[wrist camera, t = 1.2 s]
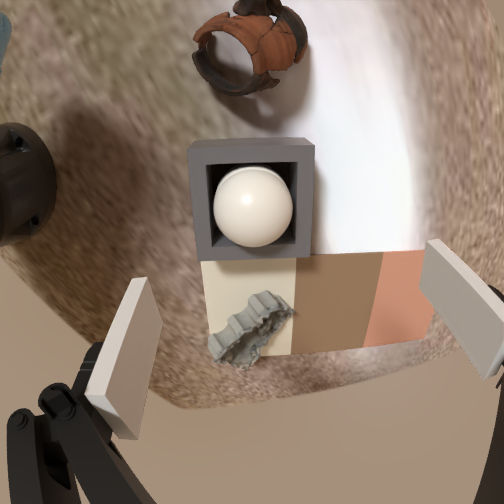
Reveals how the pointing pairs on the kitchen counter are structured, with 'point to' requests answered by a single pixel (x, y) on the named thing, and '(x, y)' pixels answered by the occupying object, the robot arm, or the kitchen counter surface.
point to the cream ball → (252, 205)
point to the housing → (250, 151)
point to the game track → (326, 298)
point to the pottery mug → (254, 43)
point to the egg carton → (249, 330)
